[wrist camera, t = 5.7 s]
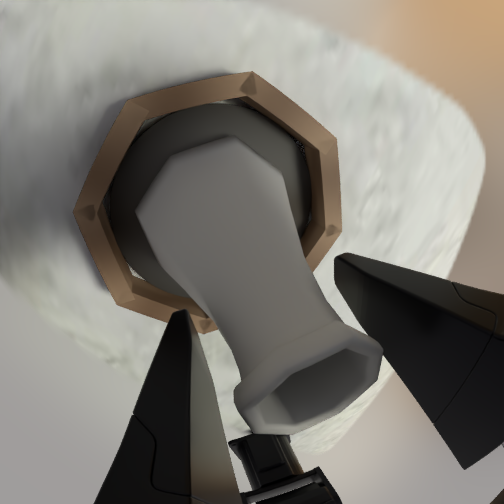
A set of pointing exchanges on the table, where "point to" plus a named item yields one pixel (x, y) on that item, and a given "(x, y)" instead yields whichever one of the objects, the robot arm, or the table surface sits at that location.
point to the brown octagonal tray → (186, 137)
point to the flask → (256, 285)
